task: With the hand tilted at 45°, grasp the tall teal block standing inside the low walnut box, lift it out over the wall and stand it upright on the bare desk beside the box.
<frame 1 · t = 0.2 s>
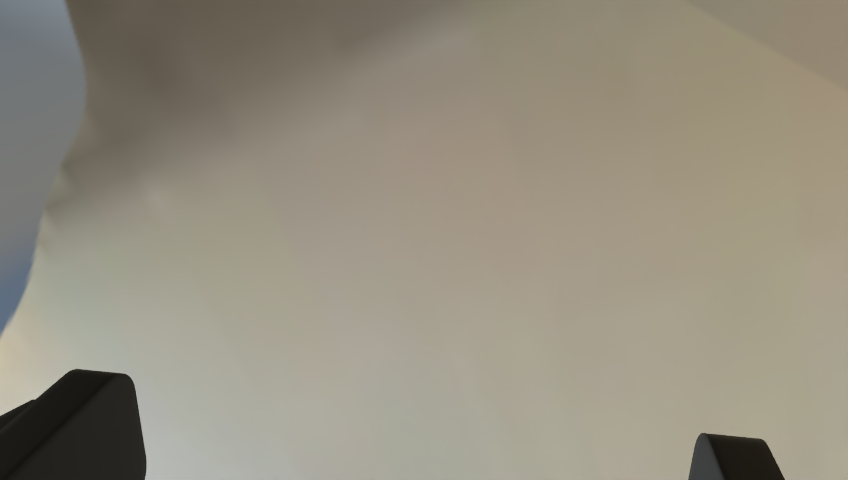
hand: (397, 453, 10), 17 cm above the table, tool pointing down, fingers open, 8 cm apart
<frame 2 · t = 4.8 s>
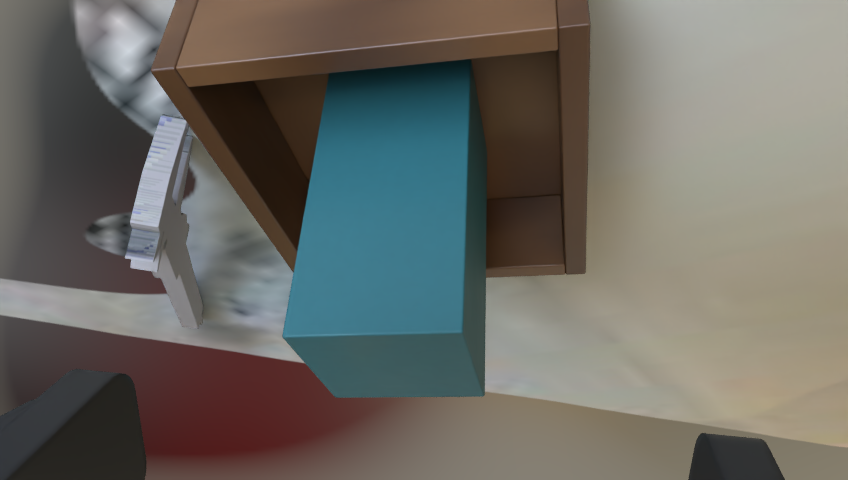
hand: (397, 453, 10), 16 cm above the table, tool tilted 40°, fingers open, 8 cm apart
block: (412, 114, 26), point 1 cm above the table, touching box
caliper: (190, 232, 36), on the table
box: (414, 98, 26), on the table
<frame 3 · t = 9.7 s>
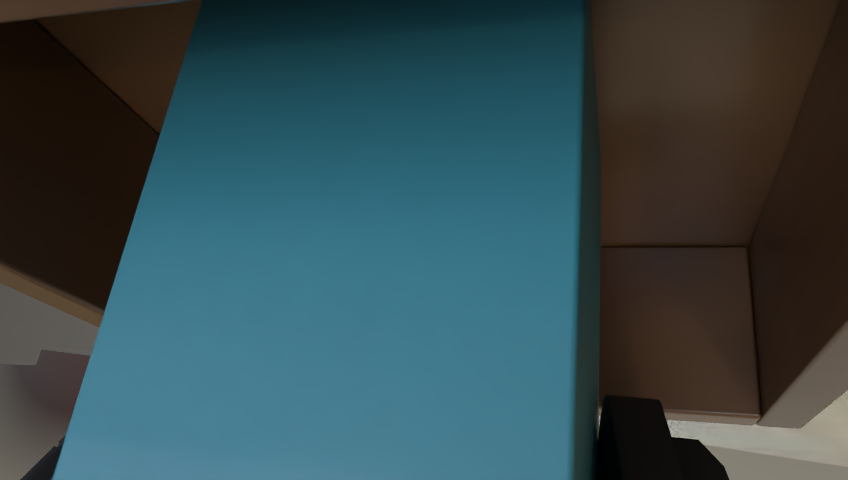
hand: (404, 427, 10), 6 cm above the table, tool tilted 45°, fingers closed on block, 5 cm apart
block: (429, 95, 11), point 1 cm above the table, touching box, gripper
caliper: (95, 253, 22), on the table
box: (434, 53, 11), on the table
when the fingers open (5 cm above the table, at t = 18.1 s): block stays where it is, on the table.
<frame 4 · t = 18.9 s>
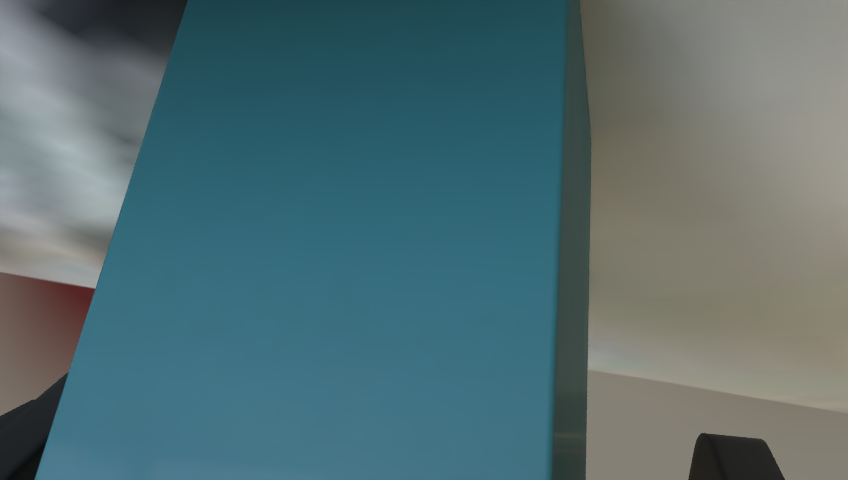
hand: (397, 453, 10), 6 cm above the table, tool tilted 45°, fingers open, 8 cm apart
block: (421, 64, 11), on the table
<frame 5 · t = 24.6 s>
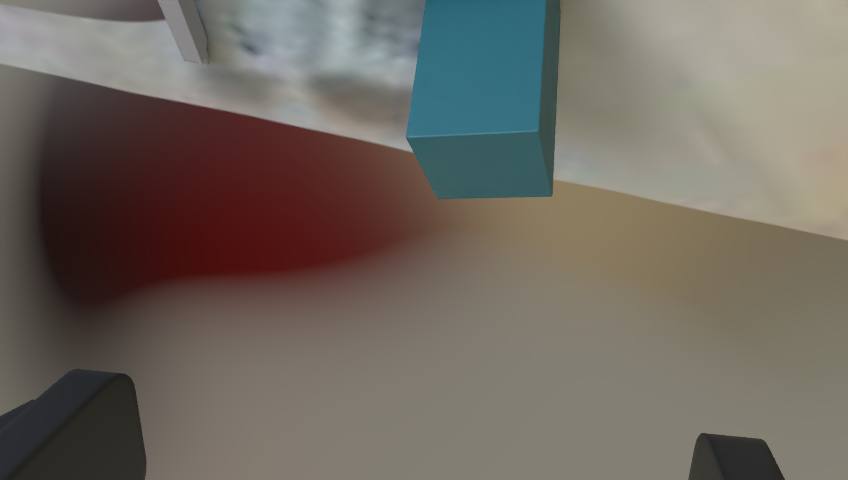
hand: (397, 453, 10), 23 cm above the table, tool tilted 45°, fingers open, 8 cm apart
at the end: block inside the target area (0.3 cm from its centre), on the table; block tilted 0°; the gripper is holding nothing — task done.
